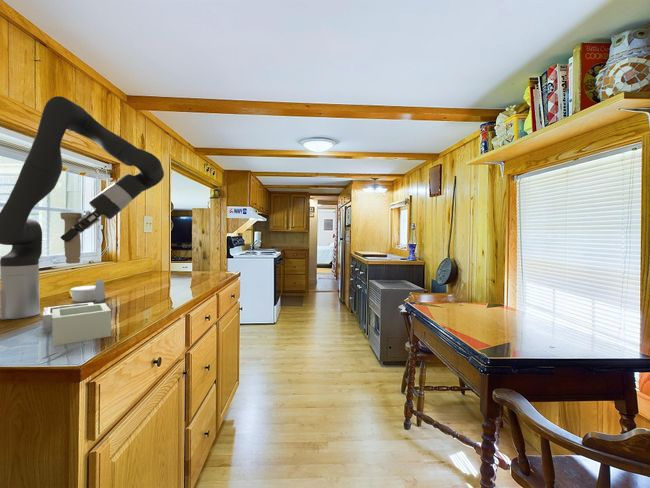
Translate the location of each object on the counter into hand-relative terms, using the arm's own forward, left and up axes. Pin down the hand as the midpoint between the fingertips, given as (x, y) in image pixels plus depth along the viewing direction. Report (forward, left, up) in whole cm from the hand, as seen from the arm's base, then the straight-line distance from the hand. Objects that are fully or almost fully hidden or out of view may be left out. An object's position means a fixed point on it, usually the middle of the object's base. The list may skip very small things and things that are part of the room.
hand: (63, 240), depth 91 cm
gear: (+6, +56, -26) cm, 62 cm away
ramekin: (+8, +44, -26) cm, 52 cm away
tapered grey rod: (+10, +22, -26) cm, 36 cm away
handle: (+2, 0, -7) cm, 7 cm away
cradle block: (+3, -12, -26) cm, 29 cm away
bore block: (+1, +3, -26) cm, 26 cm away
